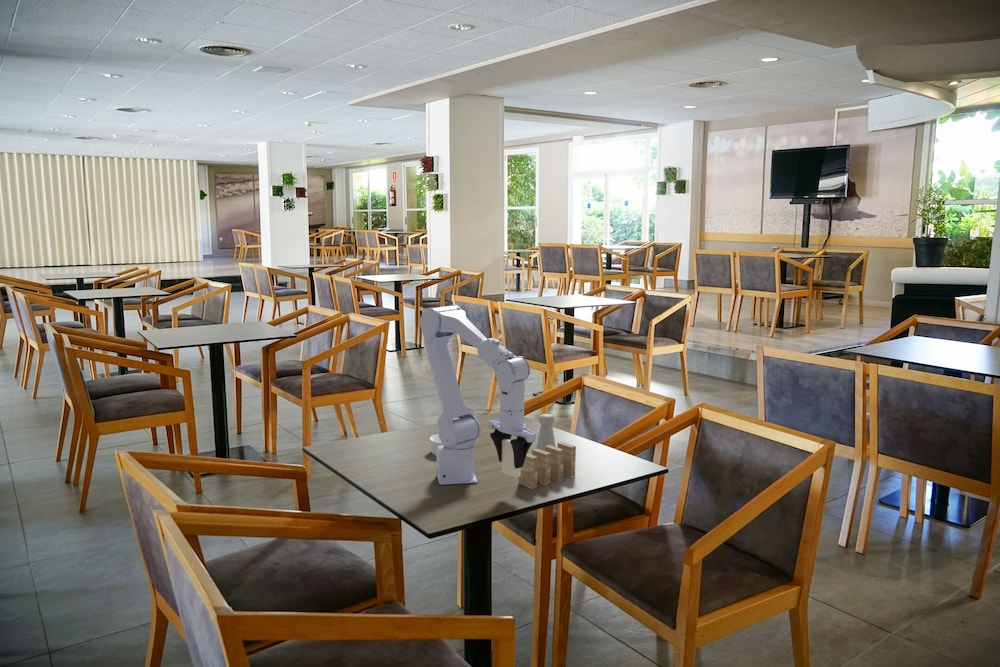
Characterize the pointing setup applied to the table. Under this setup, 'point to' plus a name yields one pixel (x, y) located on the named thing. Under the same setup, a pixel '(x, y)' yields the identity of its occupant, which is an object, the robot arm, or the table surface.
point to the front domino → (509, 460)
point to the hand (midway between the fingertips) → (511, 464)
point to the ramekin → (435, 443)
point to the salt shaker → (546, 431)
